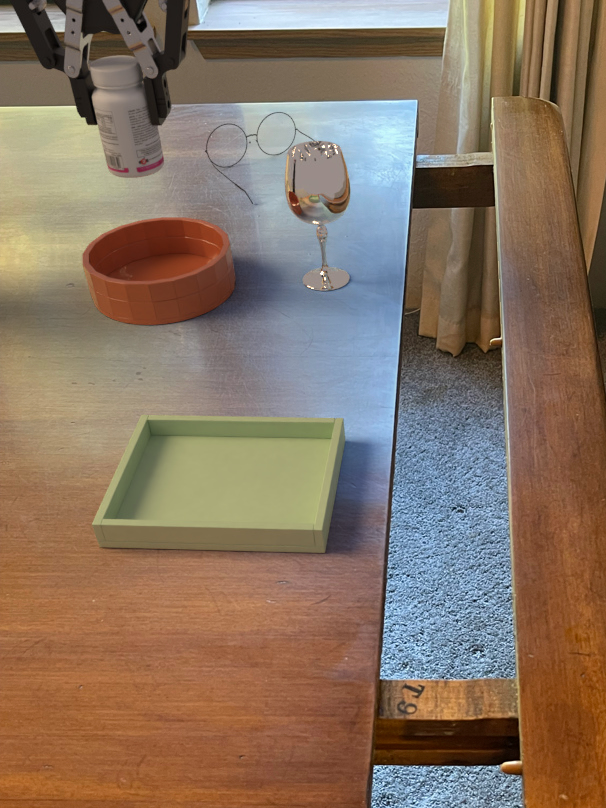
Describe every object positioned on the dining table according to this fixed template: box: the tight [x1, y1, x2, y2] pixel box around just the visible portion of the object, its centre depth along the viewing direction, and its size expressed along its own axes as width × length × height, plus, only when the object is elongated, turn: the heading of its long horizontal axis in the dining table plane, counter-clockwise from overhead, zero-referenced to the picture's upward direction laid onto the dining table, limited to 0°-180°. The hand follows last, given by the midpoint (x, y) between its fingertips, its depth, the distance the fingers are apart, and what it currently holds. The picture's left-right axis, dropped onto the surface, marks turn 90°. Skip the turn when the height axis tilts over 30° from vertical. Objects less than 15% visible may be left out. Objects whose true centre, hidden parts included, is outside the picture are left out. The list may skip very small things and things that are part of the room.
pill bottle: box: [88, 54, 165, 179], centre depth 78 cm, size 5×5×8 cm
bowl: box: [81, 216, 237, 326], centre depth 88 cm, size 13×13×4 cm
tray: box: [91, 414, 346, 554], centre depth 66 cm, size 15×12×2 cm
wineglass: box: [284, 140, 352, 292], centre depth 85 cm, size 6×6×12 cm
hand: (126, 121), depth 78 cm, fingers closed on pill bottle, 4 cm apart
